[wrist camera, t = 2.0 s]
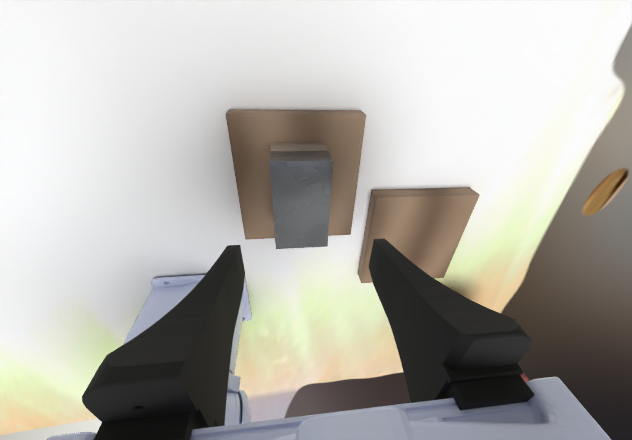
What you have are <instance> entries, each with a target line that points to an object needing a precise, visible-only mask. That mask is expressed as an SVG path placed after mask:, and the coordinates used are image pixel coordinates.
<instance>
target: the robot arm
mask: <svg viewBox="0 0 632 440" xmlns="http://www.w3.org/2000/svg"><path fill="white" fill-rule="evenodd" d="M369 270H370V274H371V278H372V281H373V284H374V287H375V289H376V291H377V294H378V296H379V299H380V301H381V303H382V306H383V308H384V310H385V313H386V315H387V317H388V320H389V323H390V325H391V329H392V332H393V335H394V338H395V342H396V345H397V349H398V352H399V356H400V359H401V363H402V367H403V371H404V375H405V378H406V382H407V386H408V391H409V395H410V400H411V403H407V404H400V405H391V406H382V407H375V408H366V409H358V410H350V411H341V412H333V413H325V414H317V415H308V416H300V417H292V418H284V419H275V420H267V421H259V422H251V408H250V404H249V401H248V397H247V395H246V393H245V392H244V391H242V390H239V385H240V377H239V376H235V375H234V372H235V365H236V358H237V352H238V345H239V338H240V331H241V324H242V321H248V320H251V316H252V315H251V310H250V304H249V298H248V293H247V287H246V282H245V271H244V265H243V259H242V254H241V248H240V245H230V246H227V247H226V248H225V250H224V251H223V253H222V254H221V255H220V257H219V258H218V259H217V261H216V262H215V263H214V265H213V266H212V267H211V269H210V270H209V271H208V272H207V274H206V275H196V276H179V277H162V278H154V279H153V280H152V282H151V284H152V286H153V289H152V291H151V293H150V295H149V297H148V299H147V300H146V302H145V304H144V306H143V308H142V310H141V311H140V313H139V315H138V317H137V319H136V321H135V322H134V324H133V326H132V328H131V330H130V332H129V333H128V335H127V338H126V340H125V343H124V345H122V346H121V347H119V348H118V349H116V350H115V351H113V352H111V353H110V354H108V355H107V356H106V357H105V359H104V360H103V362H102V363H101V365H100V366H99V368H98V370H97V372H96V373H95V375H94V377H93V378H92V380H91V382H90V384H89V385H88V387H87V389H86V391H85V392H84V394H83V396H82V402H83V404H84V405H85V406H86V408H87V409H88V410H89V411H90V412H92V413H93V414H94V415H95V416H96V417H97V418H98V419H99V420H101V421H102V424H101V426H100V428H99V430H98V432H97V434H96V433H92V432H80V433H72V434H63V435H56V436H51V437H49V438H48V439H47V440H611V439H610V438H609V437H608V435H607V434H606V433H605V432H604V431H603V429H601V427H600V426H599V425H598V424H597V422H596V421H595V420H594V419H593V418H592V417H591V415H590V414H589V413H588V412H587V411H586V409H585V408H584V407H583V406H582V405H581V404H580V402H579V401H578V400H577V399H576V398H575V397H574V396H573V394H572V393H571V392H570V391H569V389H568V388H567V387H566V386H565V385H564V384H563V382H562V381H561V380H560V379H559V378H558V377H549V378H541V379H534V380H530V381H528V382H525V381H524V380H523V378H522V377H521V376H520V375H522V374H523V371H522V370H521V368H520V367H519V365H518V364H517V363H518V362H519V361H520V360H521V358H522V357H523V356H524V355H525V354H526V353H527V352H528V350H529V349H530V347H531V343H532V340H531V338H530V336H529V335H528V334H527V333H526V332H525V331H524V330H523V328H522V327H521V326H520V325H519V324H518V323H517V322H516V320H515V319H512V318H510V317H507V316H505V315H502V314H500V313H498V312H495V311H493V310H490V309H488V308H486V307H484V306H482V305H480V304H478V303H475V302H473V301H471V300H469V299H467V298H466V297H464V296H462V295H460V294H458V293H456V292H455V291H453V290H451V289H449V288H448V287H446V286H445V285H443V284H441V283H440V282H438V281H437V280H435V279H434V278H432V277H431V276H429V275H428V274H427V273H425V272H424V271H423V270H421V269H420V268H419V267H417V266H416V265H415V264H414V263H412V262H411V261H410V260H409V259H408V258H406V257H405V256H404V255H403V254H402V253H401V252H400V251H398V250H397V249H396V248H395V247H394V246H393V245H392V244H390V243H389V242H388V241H387V240H386V239H385V238H384V239H374V241H373V246H372V251H371V256H370V261H369ZM166 281H167V282H166Z"/></svg>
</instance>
